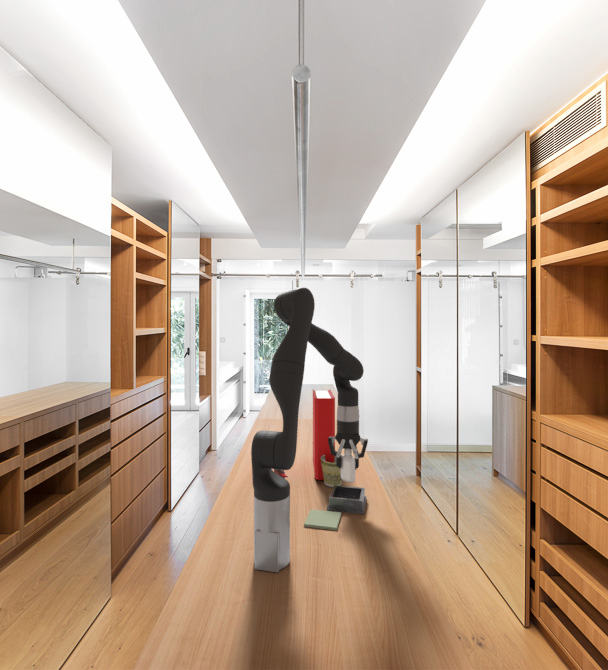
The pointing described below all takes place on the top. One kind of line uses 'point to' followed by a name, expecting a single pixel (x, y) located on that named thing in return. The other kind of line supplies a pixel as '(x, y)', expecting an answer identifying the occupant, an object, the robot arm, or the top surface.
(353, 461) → the eye dropper bottle
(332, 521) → the rubber mat
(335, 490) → the socket block
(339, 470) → the ceramic cup
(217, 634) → the top surface
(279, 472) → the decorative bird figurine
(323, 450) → the book
